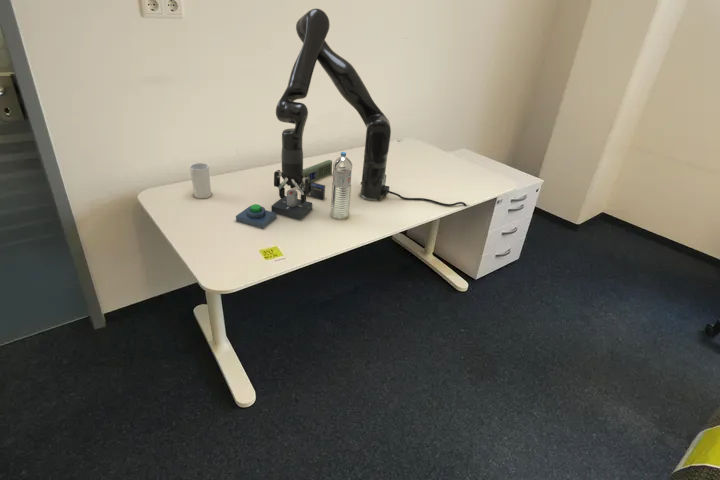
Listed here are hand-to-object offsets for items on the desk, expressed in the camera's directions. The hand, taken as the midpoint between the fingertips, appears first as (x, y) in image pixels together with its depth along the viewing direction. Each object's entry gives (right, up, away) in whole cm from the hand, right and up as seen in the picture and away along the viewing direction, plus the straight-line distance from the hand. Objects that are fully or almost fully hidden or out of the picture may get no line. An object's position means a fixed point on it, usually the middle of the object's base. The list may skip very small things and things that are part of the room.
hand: (292, 200), depth 159 cm
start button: (-12, -4, -7) cm, 14 cm away
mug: (-38, +3, +9) cm, 39 cm away
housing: (-12, -7, -5) cm, 15 cm away
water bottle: (+17, -6, +3) cm, 19 cm away
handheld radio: (+4, +11, +27) cm, 29 cm away
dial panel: (-1, -4, +3) cm, 5 cm away
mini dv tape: (+7, +2, +14) cm, 16 cm away
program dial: (0, -1, +1) cm, 2 cm away
